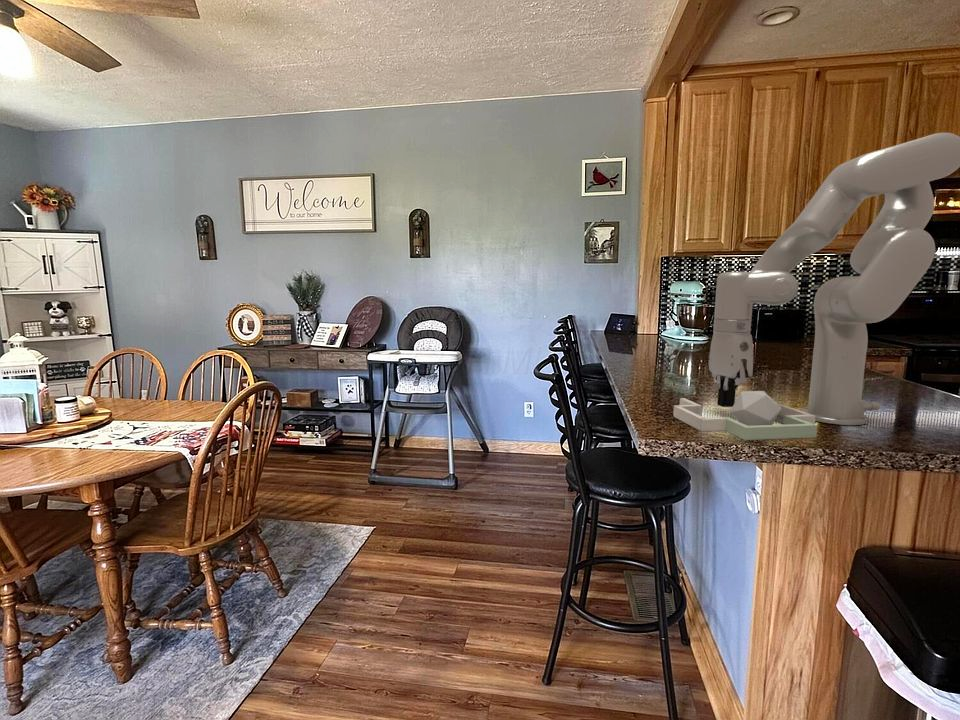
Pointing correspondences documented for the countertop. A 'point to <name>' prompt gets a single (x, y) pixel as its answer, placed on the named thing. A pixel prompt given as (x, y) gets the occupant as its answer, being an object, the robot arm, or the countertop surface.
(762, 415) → the die
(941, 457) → the countertop surface
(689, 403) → the dice tray
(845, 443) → the countertop surface
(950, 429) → the countertop surface
